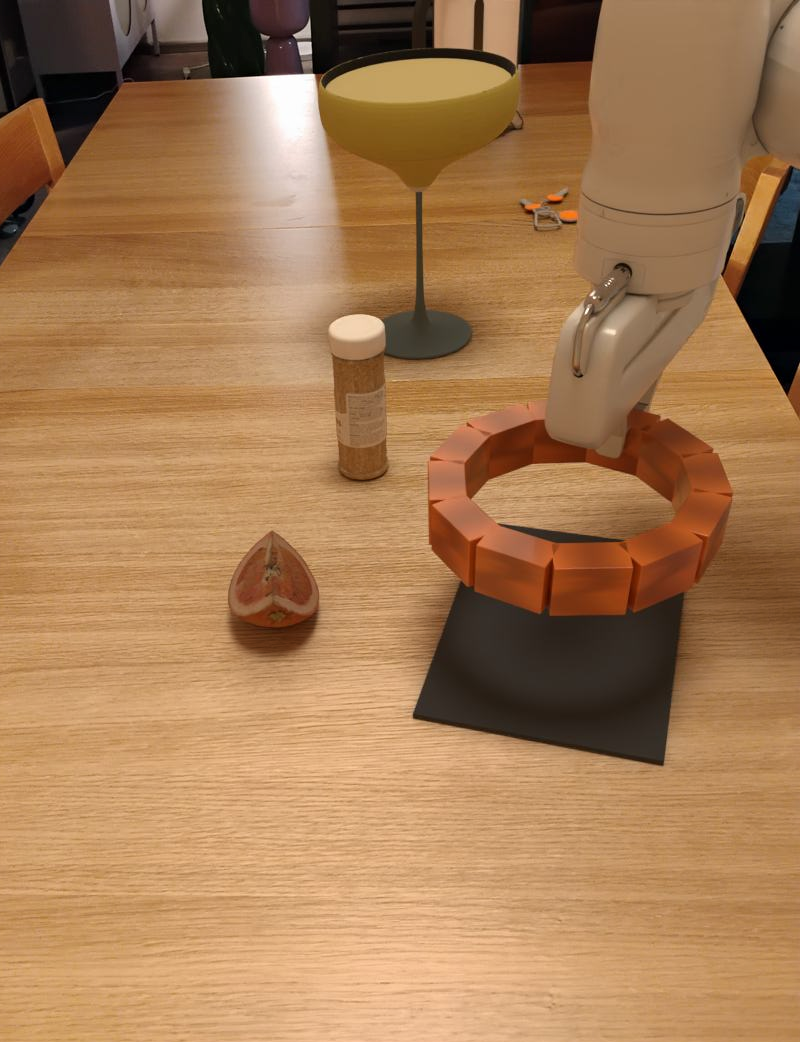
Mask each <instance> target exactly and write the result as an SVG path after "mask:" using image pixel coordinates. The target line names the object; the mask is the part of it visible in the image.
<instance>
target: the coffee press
mask: <svg viewBox="0 0 800 1042" xmlns="http://www.w3.org/2000/svg"><path fill="white" fill-rule="evenodd" d="M431 4H432V48H459V49H471V50H479V51H485V52H489V53H494V54H497V55H500V56H503V57H505V58H507V59H509V60H511V61H512V62H513V63H514V64H515V65H516V67H517V69H518V70H519V61H520V42H521V40H520V39H521V21H522V20H521V18H522V0H416V2H415V5H414V7H413V14H412V22H411V49H422V48H427V45H426V44H427V37H426V36H427V17H428V16H427V15H428V12H429V9H430V6H431ZM516 114H517V115H518V118H519V119H520V120H521V123H520V124H519V125H516V124H515V123H513V120H512V121H511V123H510V124H509V125H511V126H512V127H513V128H514V130H520V129H522V128H523V126H524V124H525V123H524V120H523V119H524V118H523V117H522V115H521V114H520V111H519V110H518V109H517V111H516Z"/></svg>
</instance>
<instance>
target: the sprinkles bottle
mask: <svg viewBox="0 0 800 1042" xmlns="http://www.w3.org/2000/svg"><path fill="white" fill-rule="evenodd" d="M381 320H382V319H380V318H378V317H376V316H374V315H369V314H364V313H363V314H360V313H359V314H349V315H345V316H342V317H339V318H337V319H336V320H334V321H333V322H331V323H330V324H329V327H328V329H327V333H328V335H327V337H328V347H329V351H330V355H331V357H332V372H333V375H332V376H333V387H334V388H333V400H334V414H335V417H334V418H335V431H336V432H335V433H336V438H337V447H338V448H337V449H338V461H337V466H338V470H339V471H340V473H341V474H342V476H344V477H347V478H349V479H351V480H363V481H364V480H371V479H375V478H377V477H380V476H382V475H383V474H384V473H385V472H386V471H387V470H388V468H389V465H390V464H389V462H390V461H389V457H388V448H387V435H388V421H387V420H388V419H387V418H388V417H387V416H388V415H387V413H388V412H387V388H386V387H387V386H386V385H387V384H386V383H387V382H386V378H385V377H386V375H385V354H384V352H385V349H384V348H385V346H386V337H385V326H384V323H383V322H382V321H381Z"/></svg>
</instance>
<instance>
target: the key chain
mask: <svg viewBox="0 0 800 1042" xmlns="http://www.w3.org/2000/svg"><path fill="white" fill-rule="evenodd" d="M570 190H571V189H570V188H569V187H563V188H562V189H561V190H559V191H558V192H557V193H554V194H553V193H552V194H548V195H547V196H546V199H544V200H542V201H540V203H538V202H537V203H534V202H533V203H532V202H530V200H528V199H527V198H520V199H519V200H518V202H520V204H521V205H524V209H525V210H526V211H532V212H533V214H534V221H533V222H534V226H535V228H540V229H541V228H542V229H548V228H549V229H551V228H556V227H557V228H558V227H562V226H563V222H568V223H572V222H577V216H578V210H572V209H569V210H563V211H560V212H559V211H556V210H551V206H548V205H543V204H545V203H547V202H548V203H549V202H557V201H562V200H563V199H564V195H567V193H568V192H570ZM540 216H541V217H548V216H550V217H551V218H552V219H556V220H557V222H558V223H554V224H539V222H538V221H539V220H538V218H539V217H540Z"/></svg>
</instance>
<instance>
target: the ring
mask: <svg viewBox="0 0 800 1042" xmlns="http://www.w3.org/2000/svg"><path fill="white" fill-rule="evenodd" d="M546 405H547V400H546V401H527V403H526V406H525V405H524V404H522V403H517V404H514V405H511V406H508V407H505V408H503V409H500V410H496V411H493V412H491V413H488V414H484V415H481V416H479V417H476V418H473V419H469V420H467V421H466V425H464V424H460V425H459V426H458V427H457V428H456V429H455V430H454V431H453V432H452V433H451V434H450V436H448V438H446V440H445V441H443V442H442V444H440V445H439V447H438V448H436V449H435V450H434V452H433V453H431V455H430V456H429V460H428V461H427V522H428V523H427V526H428V527H427V530H428V545H429V546H431V549H430V550H431V552H433V553H434V554H435V555H436V556H437V557H438V558H439V560H441V561H442V562H443V563H444V565H445V566H447V568H448V569H449V570H450V571H452V573H453V574H454V575H455V576H456V577H457V578H458V579H459V580H460V582H461V581H462V582H463V583H464V584H465V585H466V586H467V587H470V586H473V585H475V592H478V593H481V594H483V595H486V596H489V597H492V598H495V599H498V600H501V601H504V602H507V603H509V604H512V605H515V606H518V607H521V608H524V609H527V610H530V611H532V612H535V613H538V614H541V613H542V612H543V610H544V609H545V607H546V606H547V605H548V609H549V615H550V616H571V615H625V614H626V608H627V607H628V608H629V609H630V610H631V611H632V612H634V613H635V612H637V611H640V610H642V609H644V608H647V607H649V606H651V605H654V604H656V603H658V602H661V601H663V600H665V599H668V598H670V597H672V596H675V595H677V594H680V593H682V592H684V593H685V592H686V591H689V590H691V589H693V588H694V584H699V583H700V582H701V580H702V578H703V576H704V575H705V574H706V571H707V570H708V568H709V566H711V565H710V564H712V562H713V560H714V558H715V556H716V554H717V553H718V552H719V550H720V548H721V546H722V545H723V541H724V536H725V532H726V529H727V524H728V520H729V517H730V516H729V515H730V512H731V508H732V505H733V499H734V498H733V496H734V491H733V487H732V486H731V483H730V480H729V478H728V475H727V473H726V470H725V467H724V465H723V462H722V460H721V457H720V454H719V453H718V452H714V447H713V446H711V445H709V444H708V443H707V442H705V441H703V440H702V439H700V438H699V437H697V436H695V434H693V433H691V432H689V430H687V429H685V428H684V427H682V426H681V425H679V424H677V422H674V421H673V420H671V419H670V418H669V417H668V418H665V419H662V420H661V418H662V415H660V414H655V413H653V412H650V413H648V412H644V411H640V410H635V409H632V410H631V411H630V413H629V414H628V415H627V426H630V427H631V428H630V434H629V439H628V440H629V441H628V446H627V447H626V448H625V450H624V451H623V452H622V454H621V455H620V456H619V457H618V458H611V457H607V456H603V455H599V454H598V453H597V452H596V450H595V449H589V448H584V447H580V446H576V445H572V444H568V443H565V442H561V441H558V440H555V439H553V438H551V437H550V436H549V434H548V432H547V430H546V427H545V413H546ZM579 463H580V464H581V463H582V464H583V463H585V464H590V465H594V466H597V467H601V468H605V469H608V470H612V471H616V472H619V473H622V474H627V475H630V476H634V477H636V478H637V479H639V480H640V481H641V482H643V484H646V485H647V486H648V487H650V488H651V489H652V490H653V491H655V492H656V493H658V494H659V495H660V496H662V497H663V498H665V499H666V500H667V501H669V502H670V503H671V505H672V508H673V511H674V514H675V515H674V516H673V518H672V519H671V521H670V522H668V523H664V524H662V525H660V526H657V527H655V528H652V529H650V530H647V531H644V532H643V533H640V534H638V535H637V534H636V535H635V536H633V537H630V538H627V539H624V540H625V541H622V542H602V543H554V542H550V541H547V540H544V539H541V538H538V537H534V536H531V535H528V534H525V533H521V532H518V531H515V530H512V529H509V528H505V527H502V526H499V525H498V524H497V523H498V522H497V521H495V520H494V519H493V518H492V517H491V516H489V514H487V513H486V512H485V510H483V509H482V508H481V507H480V506H479V505H478V504H476V502H474V501H473V500H472V499H473V498H474V497H475V495H476V494H477V493H478V492H479V491H481V489H482V488H483V487H484V486H485V484H486V483H487V482H488V481H489V480H493V479H495V478H498V477H500V476H504V475H506V474H509V473H512V472H515V471H517V470H520V469H522V468H527V467H529V466H531V465H543V464H545V465H546V464H579Z"/></svg>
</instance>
